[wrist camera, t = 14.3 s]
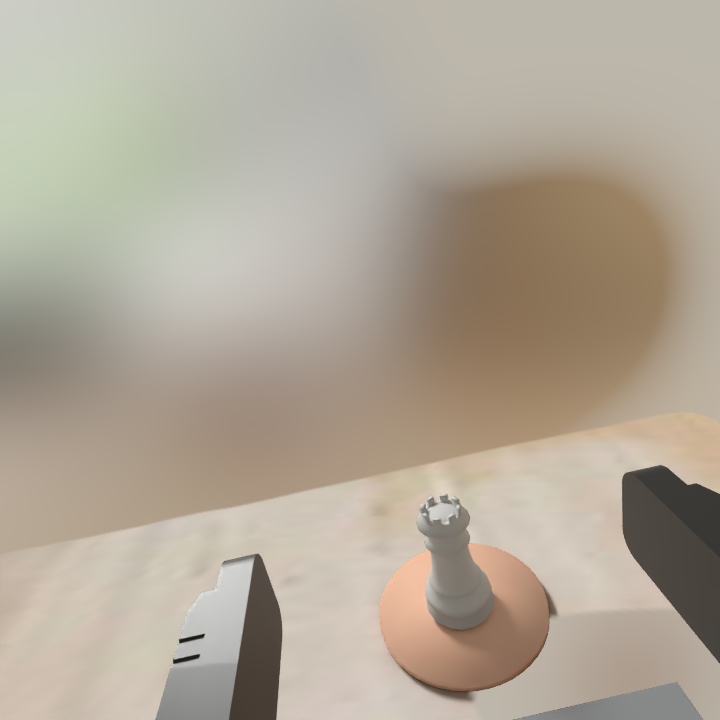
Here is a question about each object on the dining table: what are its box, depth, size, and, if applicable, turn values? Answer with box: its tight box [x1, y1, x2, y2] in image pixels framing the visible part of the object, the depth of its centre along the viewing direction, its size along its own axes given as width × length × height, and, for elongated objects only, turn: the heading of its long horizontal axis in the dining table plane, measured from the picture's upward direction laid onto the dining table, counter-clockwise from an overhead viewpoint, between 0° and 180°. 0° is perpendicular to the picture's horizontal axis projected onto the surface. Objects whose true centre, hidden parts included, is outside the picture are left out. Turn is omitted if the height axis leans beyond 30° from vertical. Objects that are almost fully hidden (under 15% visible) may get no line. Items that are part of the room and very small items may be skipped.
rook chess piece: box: [416, 494, 495, 630], centre depth 32 cm, size 4×4×8 cm
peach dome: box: [379, 543, 549, 692], centre depth 33 cm, size 11×11×1 cm
